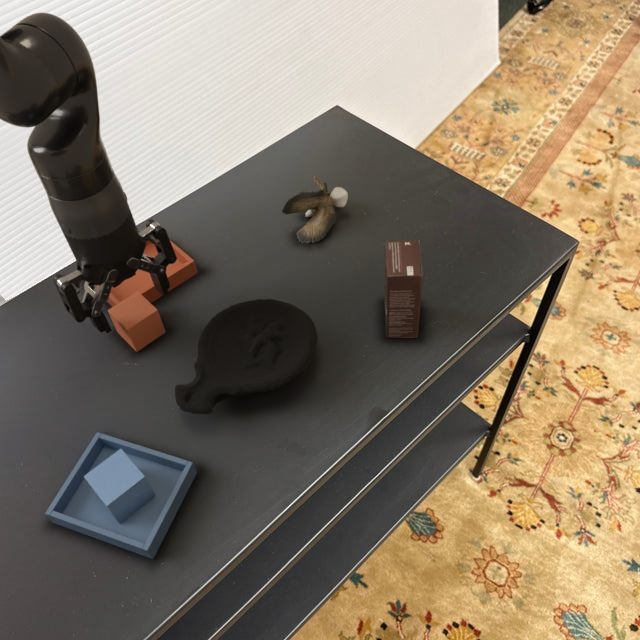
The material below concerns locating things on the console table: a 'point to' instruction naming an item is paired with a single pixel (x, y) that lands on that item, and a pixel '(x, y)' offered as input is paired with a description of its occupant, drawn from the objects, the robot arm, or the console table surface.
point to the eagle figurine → (316, 210)
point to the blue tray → (145, 523)
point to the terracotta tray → (143, 280)
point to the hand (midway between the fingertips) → (134, 310)
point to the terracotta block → (137, 321)
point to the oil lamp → (248, 353)
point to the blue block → (120, 485)
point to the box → (403, 288)
